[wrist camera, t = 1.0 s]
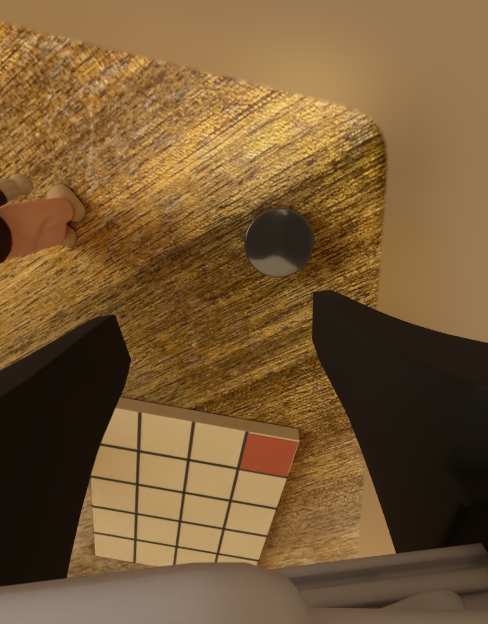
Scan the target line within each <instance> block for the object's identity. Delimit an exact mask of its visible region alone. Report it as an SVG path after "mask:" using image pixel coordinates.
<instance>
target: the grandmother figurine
mask: <svg viewBox="0 0 488 624" xmlns="http://www.w3.org/2000/svg"><path fill="white" fill-rule="evenodd" d="M32 190H33V184H32V182H31V180H30V179H29V178H28V177H26V176H24V175H22V174H14V175H11V176H10V177H9V178H8V179H6V178H2V179H0V263H2V262H4V261H5V260H6V259H8V258H14V257H19V256H22V255H27V254H31V253H34V252H37V251H40V250H42V249H45V248H49V247H52V246H55V245H61V246H64V247H72V246H74V245H75V243H76V239H77V236H76V233H75V231H74V230H73V229H72V228H70V227H69V226H68V225H66V223H67V222H69V221H70V220H71V221H73V222H79V221H81V220H82V219H83V218H84V216H85V214H86V211H85V207H84V206H83V204H82V203H81V202H80V200H79V199H78V198H77V197H76V195H75V194H74V193H73V192H72V191H71V189H70V188H68V187H67V186H65V185H63V184H56V185H54V186H52V187H51V188H50V189H49V190H48V192H47V199H44V200H39V201H32V202H21V203H11V204H6V203H7V202H9V201H11V200H14V199H16V198H17V197H18V196H19V195H27V194H29V193H31V191H32ZM4 204H6V205H4ZM2 205H3V206H2Z"/></svg>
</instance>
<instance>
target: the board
mask: <svg viewBox="0 0 488 624" xmlns="http://www.w3.org/2000/svg"><path fill="white" fill-rule="evenodd" d="M299 442H300V439H299V432H298V429H296V428H290V427H285V426H279V425H273V424H268V423H262V422H257V421H251V420H245V419H240V418H234V417H229V416H223V415H218V414H212V413H206V412H201V411H195V410H190V409H184V408H178V407H173V406H167V405H162V404H156V403H150V402H145V401H139V400H134V399H128V398H122V397H120V398H119V401H118V403H117V406H116V408H115V410H114V413H113V415H112V418H111V420H110V422H109V425H108V427H107V430H106V432H105V434H104V437H103V439H102V442H101V445H100V447H99V450H98V453H97V456H96V460H95V463H94V466H93V470H92V473H91V477H90V478H91V488H92V504H93V505H92V507H93V521H94V537H95V553H96V556H101V557H107V558H113V559H119V560H124V561H130V562H133V563H142V564H148V565H154V566H160V567H161V566H170V565H178V564H186V563H194V562H246V563H250V564H253V565H256V566H257V563H258V561H259V557H260V554H261V552H262V549H263V546H264V543H265V540H266V537H267V534H268V531H269V528H270V526H271V523H272V520H273V517H274V514H275V511H276V510H277V505H278V502H279V500H280V497H281V494H282V491H283V488H284V485H285V482H286V479H287V478H288V474H289V471H290V468H291V465H292V462H293V459H294V456H295V453H296V451H297V448H298V445H299Z"/></svg>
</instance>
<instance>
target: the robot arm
mask: <svg viewBox="0 0 488 624" xmlns="http://www.w3.org/2000/svg"><path fill="white" fill-rule="evenodd" d="M312 340H313V343H314V346H315V349H316V352H317V355H318V358H319V360H320V363H321V365H322V367H323V369H324V371H325V373H326V374H327V376H328V378H329V380H330V382H331V384H332V386H333V388H334V390H335V392H336V394H337V396H338V398H339V400H340V402H341V403H342V405H343V407H344V409H345V411H346V414H347V416H348V418H349V420H350V422H351V425H352V427H353V430H354V433H355V435H356V438H357V440H358V443H359V446H360V448H361V451H362V454H363V456H364V459H365V462H366V465H367V467H368V470H369V473H370V476H371V478H372V481H373V484H374V487H375V490H376V493H377V496H378V499H379V502H380V504H381V508H382V511H383V514H384V516H385V520H386V523H387V526H388V529H389V532H390V535H391V539H392V542H393V545H394V548H395V551H396V554H390V555H381V556H374V557H366V558H357V559H349V560H341V561H333V562H325V563H317V564H309V565H301V566H293V567H285V568H277V569H266V568H263V567H259V566H256V565H253V564H250V563H246V562H194V563H186V564H178V565H170V566H161V567H153V568H145V569H137V570H129V571H121V572H113V573H105V574H97V575H89V576H81V577H73V578H67V573H68V568H69V563H70V558H71V553H72V549H73V544H74V540H75V536H76V531H77V527H78V522H79V518H80V514H81V510H82V506H83V503H84V499H85V495H86V491H87V487H88V484H89V480H90V477H91V473H92V470H93V466H94V463H95V460H96V456H97V453H98V450H99V447H100V445H101V442H102V439H103V437H104V434H105V432H106V430H107V427H108V425H109V422H110V420H111V418H112V415H113V413H114V410H115V408H116V406H117V403H118V401H119V398H120V396H121V394H122V391H123V389H124V386H125V383H126V380H127V376H128V372H129V367H130V363H131V358H130V356H129V353H128V350H127V347H126V344H125V341H124V339H123V336H122V333H121V330H120V327H119V325H118V322H117V319H116V316H115V315H108V316H99V317H96V318H94V319H91V320H89V321H87V322H86V323H84V324H82V325H80V326H78V327H77V328H75V329H73V330H72V331H70V332H68V333H67V334H65V335H63V336H61V337H60V338H58V339H56V340H55V341H53V342H51V343H50V344H48V345H46V346H45V347H43V348H41V349H39V350H37V351H36V352H34V353H32V354H30V355H29V356H27V357H25V358H23V359H21V360H20V361H18V362H16V363H14V364H12V365H10V366H8V367H6V368H4V369H2V370H0V624H488V343H486V342H480V341H475V340H471V339H467V338H462V337H458V336H453V335H449V334H445V333H441V332H437V331H434V330H430V329H427V328H424V327H420V326H418V325H414V324H411V323H408V322H405V321H402V320H400V319H397V318H395V317H392V316H389V315H387V314H384V313H382V312H379V311H377V310H375V309H372V308H370V307H368V306H366V305H364V304H361V303H359V302H357V301H355V300H353V299H350V298H348V297H346V296H344V295H342V294H339V293H337V292H334V291H331V290H327V291H318V292H313V325H312Z"/></svg>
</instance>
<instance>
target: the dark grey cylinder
mask: <svg viewBox="0 0 488 624" xmlns="http://www.w3.org/2000/svg"><path fill="white" fill-rule="evenodd" d="M244 247H245V252H246V256H247V258H248V260H249V262H250V263H251V265H252V266H253V267H254V268H255V269H256V270H257V271H259V272H260V273H262V274H264V275H266V276H270V277H276V278H278V277H286V276H290V275H292V274H294V273H296V272H298V271H299V270H300V269H302V268H303V267H304V266H305V264H306V263H307V262H308V260H309V259H310V257H311V254H312V251H313V247H314V235H313V231H312V228H311V226H310V224H309V223H308V221H307V220H306V219H305V218H304V217H303V216H302V215H301V214H300V213H298V212H297V211H296V210H294V209H293V208H291V207H288V206H285V205H271V206H268V207H266V208H264V209H262V210H260V211H259V212H258V213H257V214H256V215H255V216H254V217H253V218H252V220H251V222H250V224H249V226H248V229H247V232H246V235H245V241H244Z"/></svg>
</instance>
